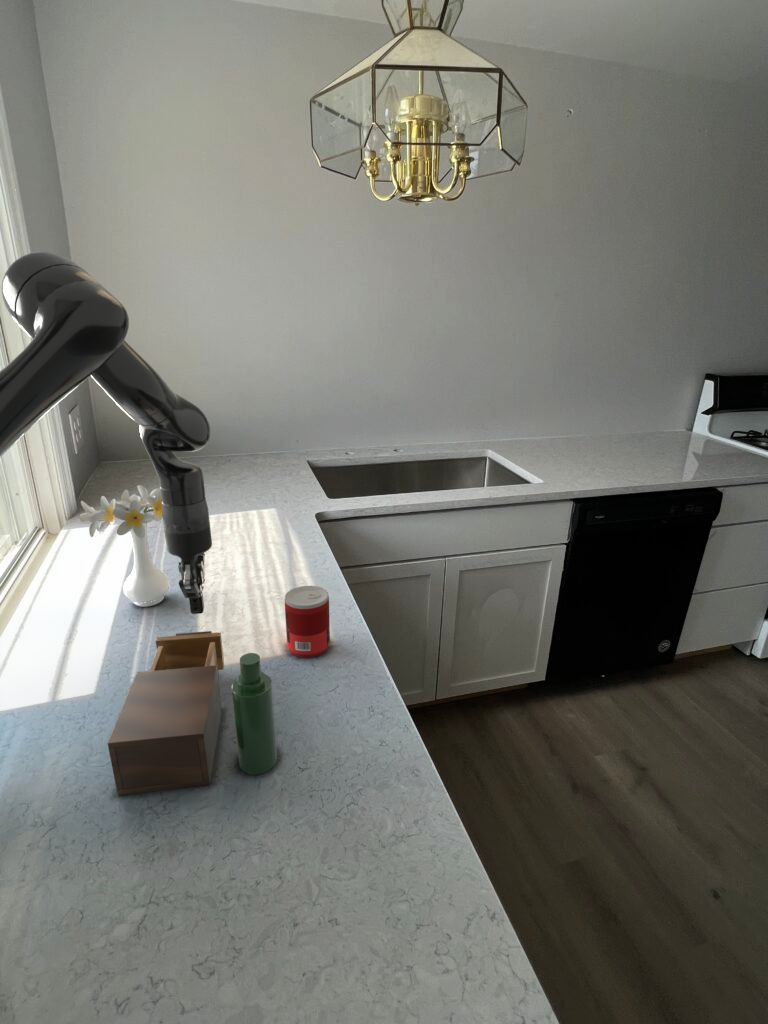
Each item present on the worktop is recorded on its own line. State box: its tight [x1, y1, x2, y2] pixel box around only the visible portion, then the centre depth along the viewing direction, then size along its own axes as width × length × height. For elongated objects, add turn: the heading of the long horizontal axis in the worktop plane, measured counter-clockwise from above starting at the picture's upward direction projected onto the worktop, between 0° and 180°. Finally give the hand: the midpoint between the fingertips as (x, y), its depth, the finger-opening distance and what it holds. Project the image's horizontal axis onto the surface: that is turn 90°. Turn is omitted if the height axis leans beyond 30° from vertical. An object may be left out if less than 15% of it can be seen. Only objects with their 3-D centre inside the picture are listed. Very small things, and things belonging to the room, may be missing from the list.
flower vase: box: [79, 484, 171, 608], centre depth 115 cm, size 13×18×25 cm
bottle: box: [231, 652, 278, 776], centre depth 75 cm, size 5×5×17 cm
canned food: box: [284, 585, 331, 659], centre depth 102 cm, size 8×8×11 cm
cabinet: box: [107, 666, 223, 796], centre depth 79 cm, size 15×12×9 cm
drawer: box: [148, 630, 225, 674], centre depth 91 cm, size 18×10×7 cm, turn 9°
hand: (197, 611), depth 102 cm, fingers closed
